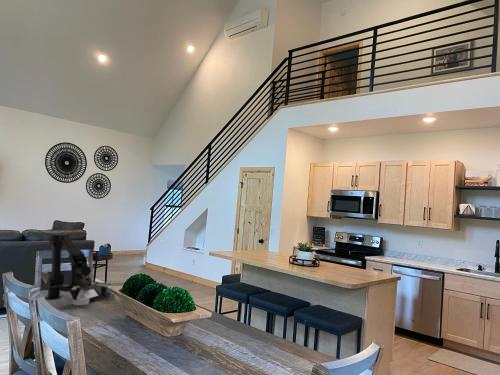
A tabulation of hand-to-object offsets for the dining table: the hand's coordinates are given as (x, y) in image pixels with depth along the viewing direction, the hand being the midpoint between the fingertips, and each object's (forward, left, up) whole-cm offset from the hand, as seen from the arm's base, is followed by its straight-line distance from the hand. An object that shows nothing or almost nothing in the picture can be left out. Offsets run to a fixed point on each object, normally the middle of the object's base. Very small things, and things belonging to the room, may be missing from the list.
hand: (74, 300), depth 213 cm
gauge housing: (0, +19, -3) cm, 19 cm away
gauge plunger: (0, +17, -2) cm, 17 cm away
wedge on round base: (0, +7, -3) cm, 8 cm away
